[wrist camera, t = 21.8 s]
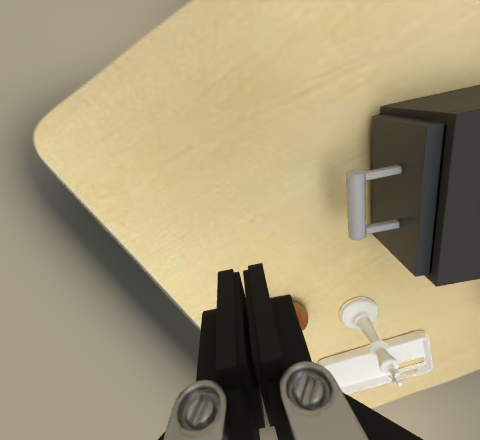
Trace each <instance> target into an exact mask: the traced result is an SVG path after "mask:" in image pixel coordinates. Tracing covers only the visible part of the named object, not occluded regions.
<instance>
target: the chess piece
mask: <svg viewBox="0 0 480 440" xmlns="http://www.w3.org/2000/svg"><path fill="white" fill-rule="evenodd" d="M377 317H378V308H377V306H376V303H375V302H374V301H373V300H372V299H370V298H366V297H357V298H353V299H351V300H349V301H347V302H346V303H345V304H344V305H343V306H342V307H341V309H340V311H339V318H340V320H341V321H342V323H343V324H344V325H345V326H346V327H348V328H350V329H361V330H362V332H363V333H364V334H365V336H366V337H367V338H368V340H369V341H370V343H371V344H370V346H369V351H370V352H371V353H372V354H374V355H377V358H378V362H379V368H380V370H381V371H382V372H384V373H391V375H392V381H393V383H394V385H395V384H397V386H403V383H402V381H401V379H400V378H399V374H400V373H399V371H398V367H399V362H398V361H397V360H396V359H395V358H394V357H393V356H391V355H390V354H389V353H388V352H387V350H388V344H387V342H386V341H384V340H379V338H378V336H377V334H376V332H375V329H374V327H373V325H372V323H374V321H375V320H376V319H377Z"/></svg>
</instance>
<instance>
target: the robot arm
mask: <svg viewBox="0 0 480 440" xmlns="http://www.w3.org/2000/svg"><path fill="white" fill-rule="evenodd" d="M243 275H244V284H245V293H244V289H243V285H242V281H241V277H240V274H239V272H235V273H234V271H233V269H230V270H225V271H220V272H218V288H217V309H212V310H207V311H204V312H203V314H202V323H201V334H200V345H199V356H198V366H197V377H196V382H194V383H192V384H190V385H189V386H187V387H186V388H185V389H184V390H183V391H182V392H181V393H180V395H179V396H178V397H177V399H176V401H175V403H174V406H173V408H172V411H171V415H170V418H169V421H168V425H167V428H166V431H165V432H164V433H163V435H162V436H161V437H160V438H159V439H158V440H260V435H259V429H260V428H265V422H264V413H263V405H262V398H263V402H264V405H265V409H266V413H267V416H268V420H269V424H270V426H275V429H276V433H277V437H278V440H423V439H421V438H420V437H417V436H416V435H414V434H413V433H411V432H409V431H408V430H406V429H404V428H403V427H401V426H399V425H397V424H396V423H394V422H392V421H391V420H389V419H387V418H385V417H384V416H382V415H381V414H379V413H377V412H375V411H374V410H372V409H370V408H369V407H367V406H365V405H364V404H362V403H360V402H359V401H357V400H355V399H353V398H352V397H350V396H348V395H347V394H345V393H343V392H342V391H341V389H340V387H339V385H338V383H337V381H336V380H335V378H334V377H333V375H332V374H331V373H330V371H329V370H327V369H326V368H325V367H323V366H322V365H319V364H317V363H314V362H312V361H311V357H310V354H309V351H308V348H307V345H306V342H305V339H304V335H303V332H302V329H301V326H300V323H299V320H298V317H297V313H296V310H295V307H294V304H293V301H292V298H291V295H285V296H279V297H274V298H270V297H269V293H268V288H267V283H266V279H265V274H264V270H263V265H262V263H260V264H255V265H250V266H248V270H245V271H243ZM245 294H246V297H245ZM261 395H262V397H261Z"/></svg>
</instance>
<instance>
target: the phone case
mask: <svg viewBox="0 0 480 440" xmlns="http://www.w3.org/2000/svg"><path fill="white" fill-rule="evenodd" d="M384 341H386V342H387V344H388V350H387V352H388V353H389V354H390V355H391V356H393V357H394V358H395V359H396V360H397V361H398V362H399V363H402V362H405V361H409V360H412V359H416V358H419V357H423V362H421V363H417V364H413V365H410V366H406V367H403V368H399V369H398V371H399V373H400V374H401V373H404V372H408V371H411V370H415V369H418V371H416V372H413V373H409V374H406V375H402V376H399V378H400V379H401V380H402V379H405V378H409V377H412V376H416V375H420V374H423V373H427V372H429V371H431V370H433V362H432V355H431V348H430V341H429V338H428V336H427V335H426V334H425V333H424V331H415V332H411V333H408V334H405V335H401V336H398V337H394V338H391V339H388V340H384ZM369 346H370V345H367V346H364V347H361V348H357V349H354V350H351V351H347V352H344V353H340V354H337V355H334V356H330V357H327V358H324V359H321V360H320V361H318V364H319V365H322V366H323V367H325V368H326V369H327V370H329V371H330V373H331V374H332V375H333V377H334V378H335V380H336V381H337V383H338V385H339V387H340V389H341V391H342V392H343V393H345V394H351V393H355V392H358V391H362V390H366V389H369V388H373V387H376V386H380V385H384V384H387V383H391V382H393V381H392V378H391V379H390V376H392V375H391V373H384V372H382V371H381V370H380V368H379V362H378V358H377V355H374V354H372V353H371V352H370V351H369Z"/></svg>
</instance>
